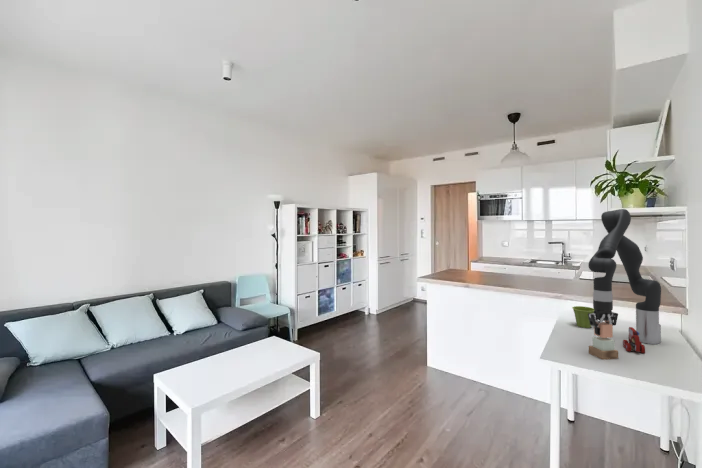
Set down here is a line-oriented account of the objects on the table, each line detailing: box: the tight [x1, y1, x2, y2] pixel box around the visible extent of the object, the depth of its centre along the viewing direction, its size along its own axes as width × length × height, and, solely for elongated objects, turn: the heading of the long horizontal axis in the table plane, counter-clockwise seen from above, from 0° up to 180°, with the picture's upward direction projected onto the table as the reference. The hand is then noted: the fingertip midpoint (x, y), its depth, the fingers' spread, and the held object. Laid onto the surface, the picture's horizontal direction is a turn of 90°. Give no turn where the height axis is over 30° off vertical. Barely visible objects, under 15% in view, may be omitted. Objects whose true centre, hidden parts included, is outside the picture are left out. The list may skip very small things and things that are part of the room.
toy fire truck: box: [622, 326, 646, 354], centre depth 165 cm, size 7×12×10 cm, turn 152°
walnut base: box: [588, 345, 619, 361], centre depth 159 cm, size 8×8×4 cm
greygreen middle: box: [592, 336, 616, 351], centre depth 159 cm, size 6×6×4 cm
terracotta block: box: [593, 321, 614, 339], centre depth 159 cm, size 5×5×6 cm
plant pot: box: [571, 305, 594, 329], centre depth 204 cm, size 12×12×11 cm
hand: (603, 334), depth 159 cm, fingers closed on terracotta block, 5 cm apart
